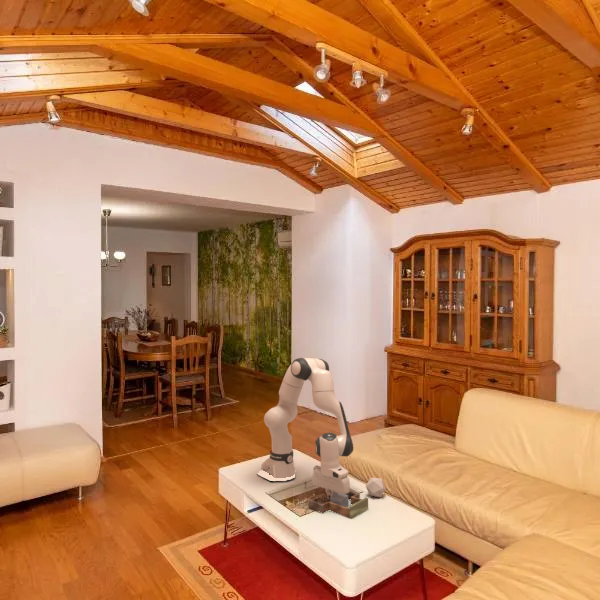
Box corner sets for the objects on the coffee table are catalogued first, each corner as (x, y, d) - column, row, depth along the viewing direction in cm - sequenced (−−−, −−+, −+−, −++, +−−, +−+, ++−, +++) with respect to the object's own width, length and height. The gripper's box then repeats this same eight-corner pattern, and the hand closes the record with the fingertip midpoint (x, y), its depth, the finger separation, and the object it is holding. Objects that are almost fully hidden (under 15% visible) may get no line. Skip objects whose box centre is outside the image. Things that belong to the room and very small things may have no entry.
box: (304, 506, 222) (304, 495, 222) (333, 492, 237) (332, 482, 237) (345, 522, 205) (345, 510, 205) (373, 506, 220) (373, 495, 220)
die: (374, 502, 226) (386, 484, 226) (360, 489, 231) (372, 472, 231) (379, 502, 233) (391, 485, 234) (365, 489, 238) (376, 473, 238)
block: (330, 507, 220) (330, 497, 220) (337, 502, 225) (337, 492, 225) (341, 510, 217) (341, 500, 217) (348, 505, 222) (348, 495, 222)
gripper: (309, 466, 229) (310, 495, 229) (342, 476, 215) (343, 507, 215) (317, 462, 234) (318, 491, 234) (351, 472, 219) (352, 502, 219)
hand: (331, 498), depth 224 cm, fingers closed
